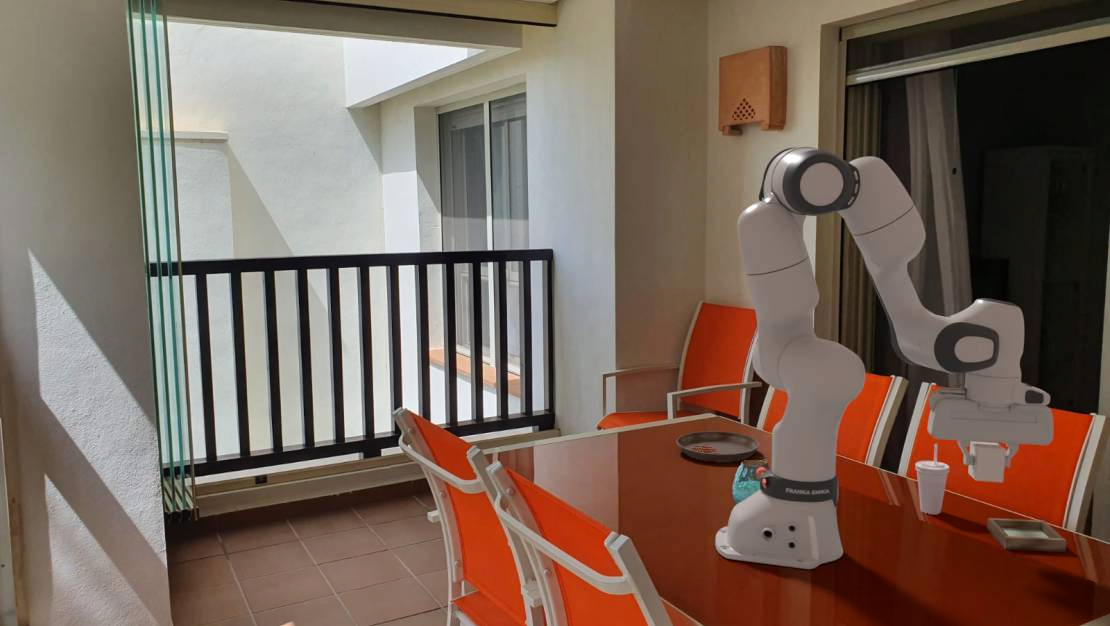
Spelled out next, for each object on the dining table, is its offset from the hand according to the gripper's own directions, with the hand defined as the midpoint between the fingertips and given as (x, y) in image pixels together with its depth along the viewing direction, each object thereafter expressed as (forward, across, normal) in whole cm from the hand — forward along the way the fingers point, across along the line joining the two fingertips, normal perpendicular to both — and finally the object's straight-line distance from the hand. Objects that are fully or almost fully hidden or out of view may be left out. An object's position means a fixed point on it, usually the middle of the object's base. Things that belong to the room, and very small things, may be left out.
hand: (986, 465), depth 153 cm
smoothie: (+15, -4, +18) cm, 24 cm away
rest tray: (+15, +9, +4) cm, 18 cm away
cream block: (+2, 0, 0) cm, 2 cm away
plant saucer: (+16, -46, +56) cm, 74 cm away
